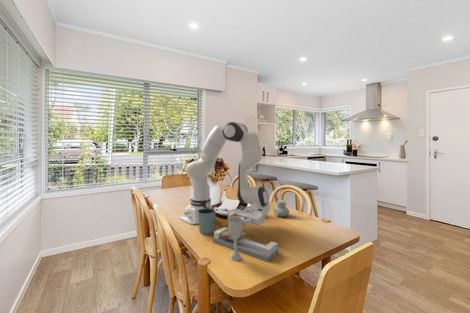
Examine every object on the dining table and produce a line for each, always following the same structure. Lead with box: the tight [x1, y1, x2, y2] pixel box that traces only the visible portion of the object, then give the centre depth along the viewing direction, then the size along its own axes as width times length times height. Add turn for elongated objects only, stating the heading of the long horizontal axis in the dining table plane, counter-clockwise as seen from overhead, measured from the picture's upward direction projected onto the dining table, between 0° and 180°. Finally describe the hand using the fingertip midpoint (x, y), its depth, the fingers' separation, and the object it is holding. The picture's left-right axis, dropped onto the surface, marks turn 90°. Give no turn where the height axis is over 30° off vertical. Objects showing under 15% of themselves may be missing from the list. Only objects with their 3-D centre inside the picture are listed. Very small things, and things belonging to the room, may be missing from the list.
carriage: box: [221, 213, 247, 241], centre depth 118 cm, size 10×8×12 cm
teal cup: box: [197, 208, 216, 235], centre depth 134 cm, size 10×10×12 cm
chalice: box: [226, 216, 244, 262], centre depth 104 cm, size 7×7×18 cm
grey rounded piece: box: [272, 199, 290, 218], centre depth 161 cm, size 11×8×10 cm
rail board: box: [212, 226, 279, 263], centre depth 115 cm, size 32×10×5 cm, turn 53°
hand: (236, 220), depth 120 cm, fingers open, 8 cm apart
